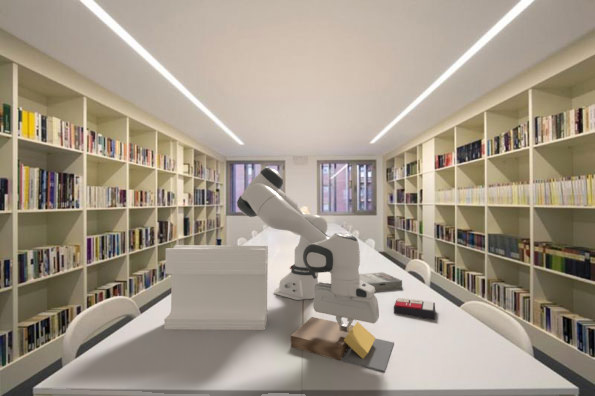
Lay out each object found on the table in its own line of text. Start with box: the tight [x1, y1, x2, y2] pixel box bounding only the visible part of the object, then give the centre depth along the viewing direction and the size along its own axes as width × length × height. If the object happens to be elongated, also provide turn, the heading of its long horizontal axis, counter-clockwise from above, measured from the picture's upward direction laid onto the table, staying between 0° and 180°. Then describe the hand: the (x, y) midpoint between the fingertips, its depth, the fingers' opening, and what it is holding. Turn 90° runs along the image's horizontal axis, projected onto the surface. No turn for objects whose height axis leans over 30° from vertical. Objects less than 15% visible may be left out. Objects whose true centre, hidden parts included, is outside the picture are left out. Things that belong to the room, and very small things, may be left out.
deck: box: [290, 316, 354, 361], centre depth 91 cm, size 16×16×4 cm
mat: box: [341, 337, 394, 373], centre depth 85 cm, size 12×17×1 cm
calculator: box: [393, 297, 436, 321], centre depth 116 cm, size 11×4×15 cm
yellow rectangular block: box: [344, 321, 376, 359], centre depth 85 cm, size 7×10×2 cm
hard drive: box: [359, 271, 403, 292], centre depth 153 cm, size 18×27×4 cm
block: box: [163, 244, 269, 331], centre depth 103 cm, size 35×8×28 cm, turn 91°
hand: (344, 330), depth 87 cm, fingers closed
